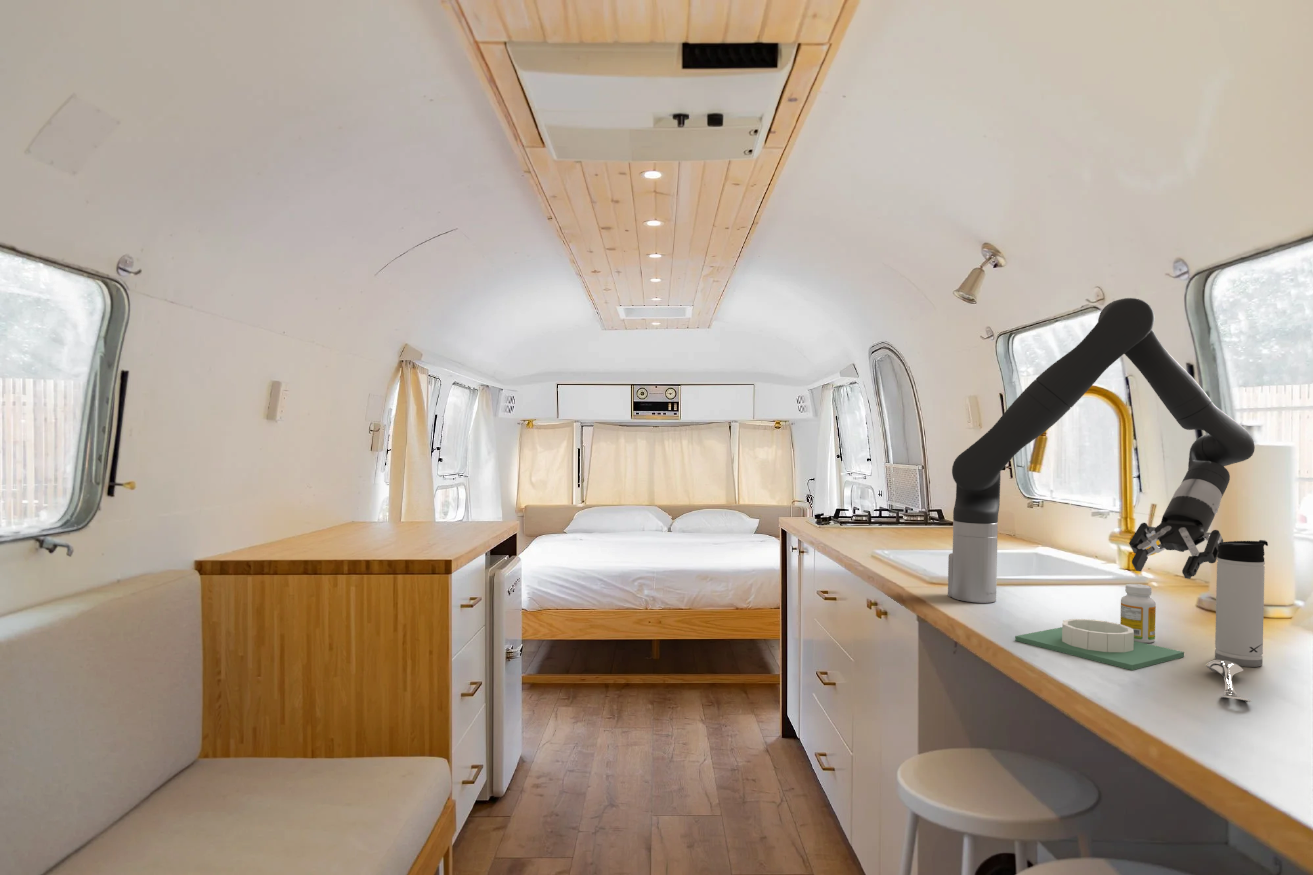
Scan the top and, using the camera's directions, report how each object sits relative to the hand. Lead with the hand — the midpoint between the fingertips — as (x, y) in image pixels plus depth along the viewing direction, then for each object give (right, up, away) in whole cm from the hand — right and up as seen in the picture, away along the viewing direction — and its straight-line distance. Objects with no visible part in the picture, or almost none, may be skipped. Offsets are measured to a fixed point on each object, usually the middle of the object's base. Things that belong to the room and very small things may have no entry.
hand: (1160, 572), depth 147 cm
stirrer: (-11, -12, -32) cm, 36 cm away
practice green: (-18, -11, -11) cm, 24 cm away
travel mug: (+2, -12, -18) cm, 21 cm away
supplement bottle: (-7, -12, -4) cm, 14 cm away
